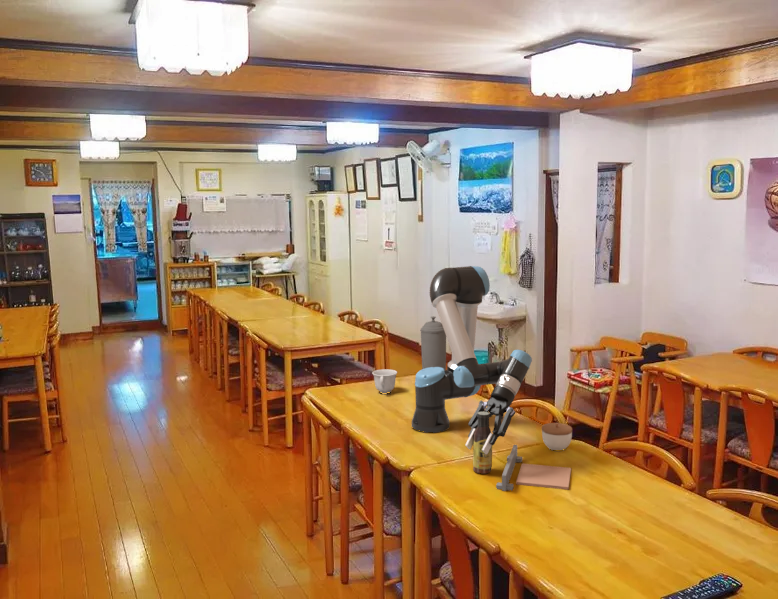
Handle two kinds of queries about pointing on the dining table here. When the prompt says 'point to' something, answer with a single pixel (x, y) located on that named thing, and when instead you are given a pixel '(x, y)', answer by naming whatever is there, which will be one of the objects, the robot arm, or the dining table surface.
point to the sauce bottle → (480, 459)
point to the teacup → (384, 379)
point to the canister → (433, 345)
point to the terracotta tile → (544, 476)
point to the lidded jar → (556, 435)
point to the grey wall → (509, 470)
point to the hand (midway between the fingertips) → (476, 449)
